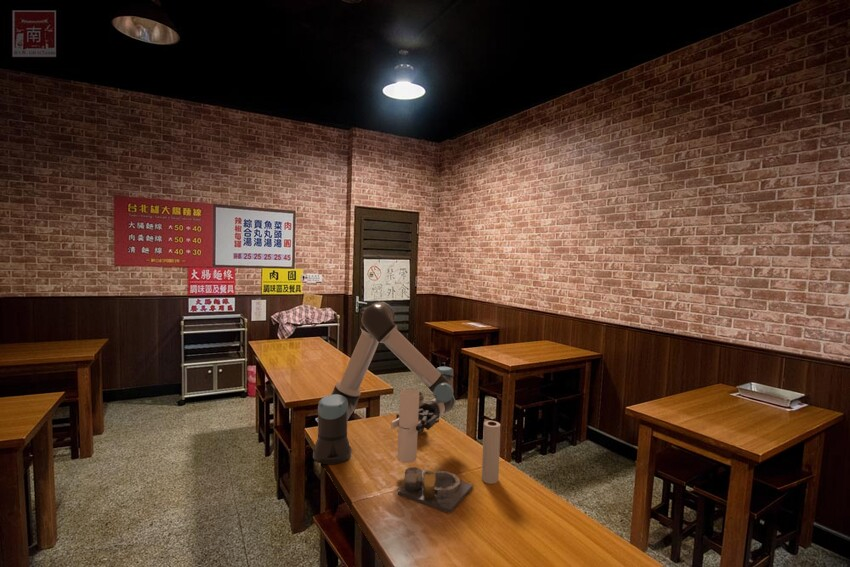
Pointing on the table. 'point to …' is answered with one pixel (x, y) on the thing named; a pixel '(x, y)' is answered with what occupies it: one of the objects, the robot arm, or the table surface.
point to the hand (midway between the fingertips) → (401, 428)
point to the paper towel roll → (491, 451)
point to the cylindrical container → (408, 425)
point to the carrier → (434, 488)
